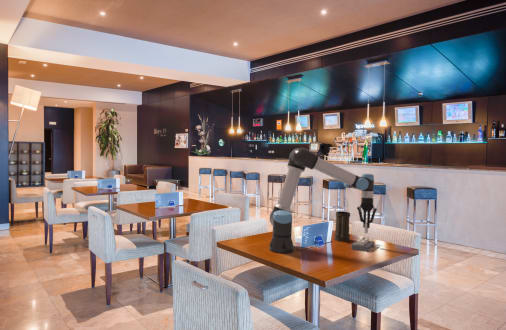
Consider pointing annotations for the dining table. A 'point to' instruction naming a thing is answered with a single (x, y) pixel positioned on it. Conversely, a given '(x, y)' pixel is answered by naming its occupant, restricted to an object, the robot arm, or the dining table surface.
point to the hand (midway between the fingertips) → (366, 232)
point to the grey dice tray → (363, 248)
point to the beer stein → (342, 226)
